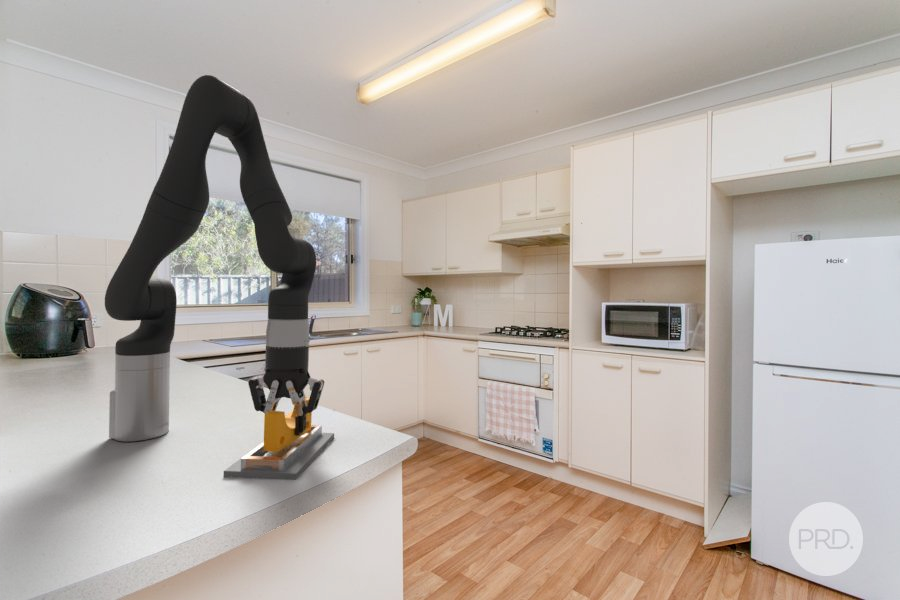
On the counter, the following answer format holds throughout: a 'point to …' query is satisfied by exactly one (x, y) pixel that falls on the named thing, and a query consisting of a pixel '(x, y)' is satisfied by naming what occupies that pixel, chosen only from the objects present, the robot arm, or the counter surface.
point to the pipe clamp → (281, 429)
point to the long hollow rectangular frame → (279, 453)
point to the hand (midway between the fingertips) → (285, 433)
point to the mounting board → (292, 470)
